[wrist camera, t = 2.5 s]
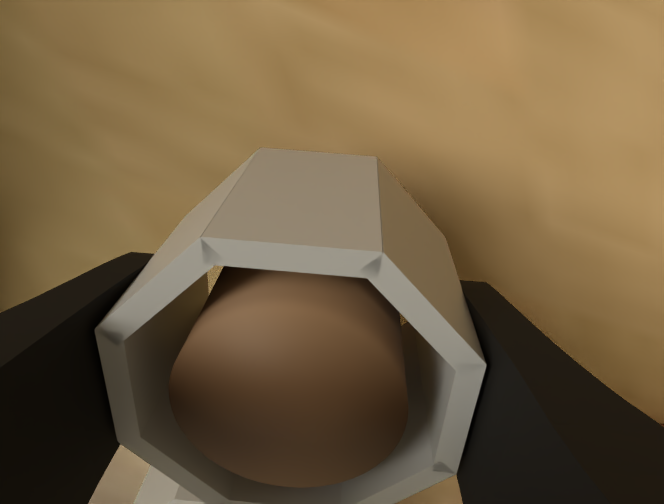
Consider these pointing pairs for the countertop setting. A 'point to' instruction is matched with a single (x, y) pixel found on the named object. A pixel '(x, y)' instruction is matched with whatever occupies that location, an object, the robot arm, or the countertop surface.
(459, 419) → the grey sleeve
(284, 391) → the walnut peg
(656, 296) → the countertop surface
